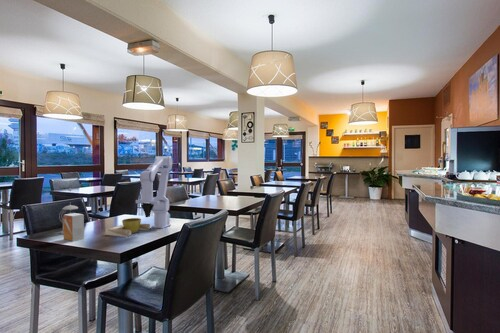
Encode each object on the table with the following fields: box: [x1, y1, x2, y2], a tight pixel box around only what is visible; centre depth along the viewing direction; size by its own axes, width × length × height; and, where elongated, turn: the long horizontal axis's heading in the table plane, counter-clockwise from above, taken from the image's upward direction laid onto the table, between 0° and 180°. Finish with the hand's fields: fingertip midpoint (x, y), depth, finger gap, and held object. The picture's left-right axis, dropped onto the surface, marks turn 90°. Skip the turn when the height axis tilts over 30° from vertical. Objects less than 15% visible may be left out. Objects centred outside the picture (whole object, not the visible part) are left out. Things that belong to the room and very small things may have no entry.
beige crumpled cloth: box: [105, 222, 151, 238], centre depth 179 cm, size 20×14×3 cm
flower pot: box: [121, 217, 142, 234], centre depth 179 cm, size 10×10×7 cm
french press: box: [58, 188, 79, 235], centre depth 180 cm, size 10×12×25 cm
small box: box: [62, 212, 85, 242], centre depth 163 cm, size 8×6×13 cm
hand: (147, 216), depth 175 cm, fingers closed
